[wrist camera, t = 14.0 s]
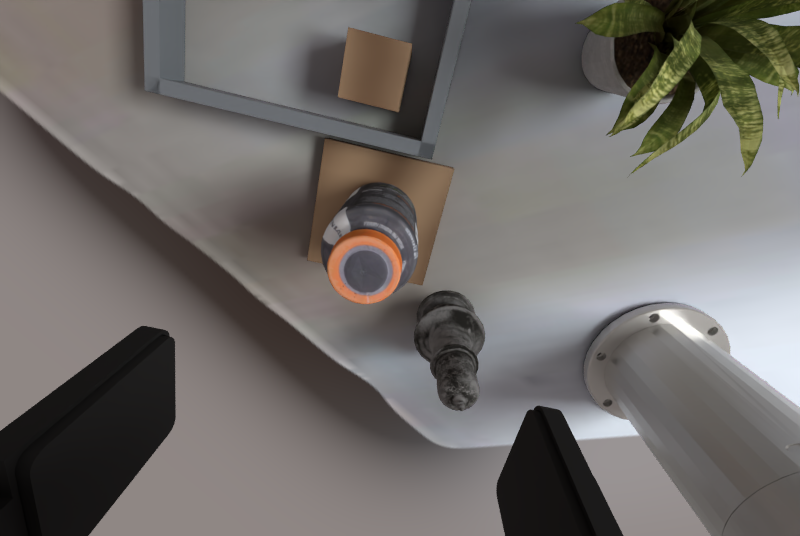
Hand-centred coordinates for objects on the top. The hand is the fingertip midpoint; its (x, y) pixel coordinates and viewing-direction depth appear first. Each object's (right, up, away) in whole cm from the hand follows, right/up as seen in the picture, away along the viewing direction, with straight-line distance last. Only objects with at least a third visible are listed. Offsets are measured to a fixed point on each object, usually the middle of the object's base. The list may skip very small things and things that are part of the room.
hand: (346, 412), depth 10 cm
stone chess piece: (+6, -1, +25) cm, 26 cm away
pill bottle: (0, +8, +21) cm, 22 cm away
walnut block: (0, +18, +18) cm, 25 cm away
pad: (0, +8, +22) cm, 23 cm away
